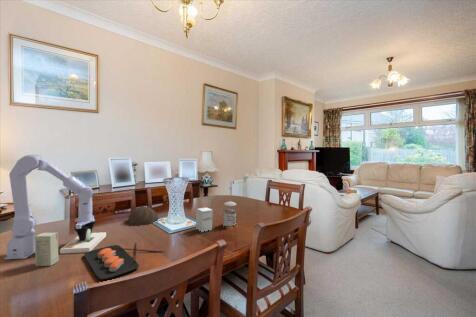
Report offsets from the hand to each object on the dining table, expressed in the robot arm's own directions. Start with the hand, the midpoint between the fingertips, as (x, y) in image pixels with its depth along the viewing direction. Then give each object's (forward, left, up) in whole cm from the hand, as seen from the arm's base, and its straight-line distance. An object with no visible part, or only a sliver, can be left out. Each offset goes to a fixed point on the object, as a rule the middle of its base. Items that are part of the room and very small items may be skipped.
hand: (85, 238), depth 112 cm
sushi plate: (-17, -25, -4) cm, 30 cm away
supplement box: (+14, -59, -3) cm, 61 cm away
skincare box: (-19, +6, -3) cm, 20 cm away
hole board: (0, 0, -3) cm, 3 cm away
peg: (0, 0, -3) cm, 3 cm away
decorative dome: (+35, -20, -3) cm, 41 cm away
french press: (+21, -75, -3) cm, 78 cm away
